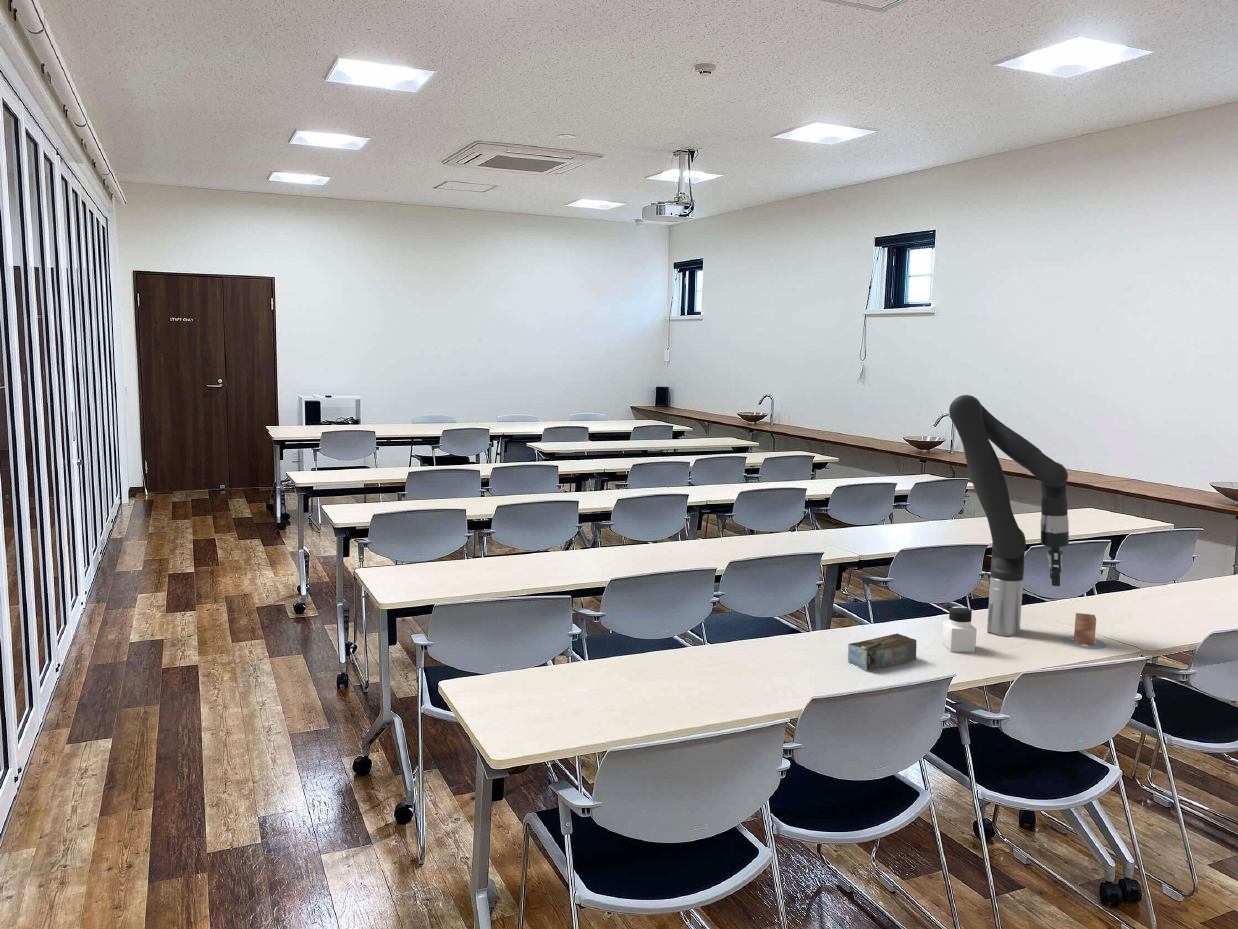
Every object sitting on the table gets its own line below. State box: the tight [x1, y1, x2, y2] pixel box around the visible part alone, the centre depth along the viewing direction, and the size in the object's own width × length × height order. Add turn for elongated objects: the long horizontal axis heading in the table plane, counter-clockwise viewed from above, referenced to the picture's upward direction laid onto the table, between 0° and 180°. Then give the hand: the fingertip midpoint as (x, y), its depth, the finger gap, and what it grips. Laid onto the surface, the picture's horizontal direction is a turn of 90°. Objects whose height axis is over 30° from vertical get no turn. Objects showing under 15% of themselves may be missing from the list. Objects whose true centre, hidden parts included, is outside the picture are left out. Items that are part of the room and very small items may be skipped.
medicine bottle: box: [941, 606, 977, 653], centre depth 254 cm, size 7×7×12 cm
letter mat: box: [1060, 635, 1108, 650], centre depth 260 cm, size 12×12×1 cm
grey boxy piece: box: [847, 633, 917, 672], centre depth 243 cm, size 8×19×7 cm, turn 118°
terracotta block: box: [1073, 612, 1097, 646], centre depth 259 cm, size 5×5×8 cm
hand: (1055, 582), depth 262 cm, fingers open, 8 cm apart
